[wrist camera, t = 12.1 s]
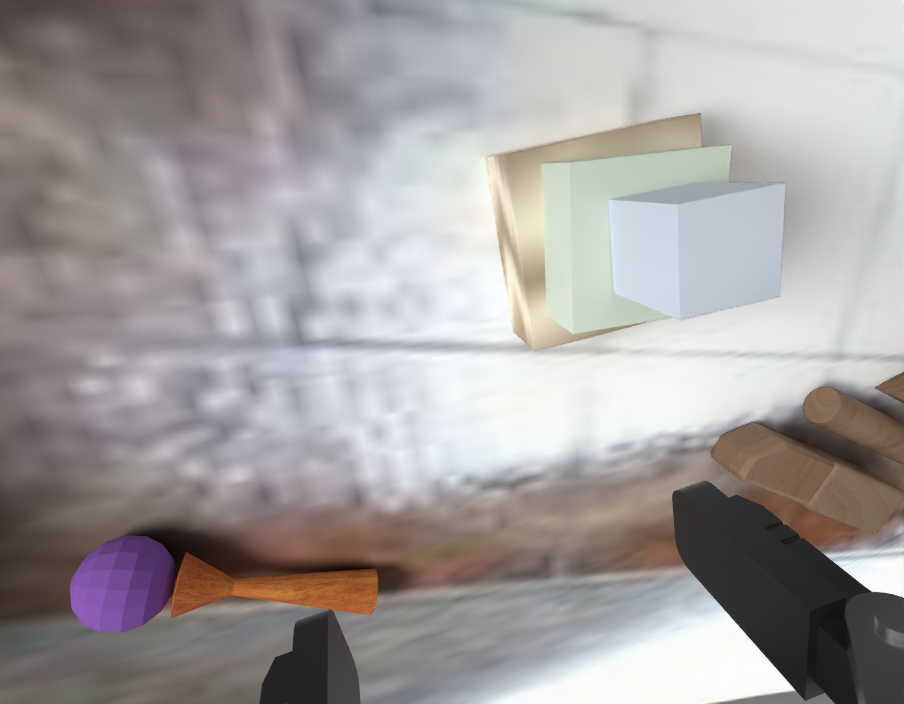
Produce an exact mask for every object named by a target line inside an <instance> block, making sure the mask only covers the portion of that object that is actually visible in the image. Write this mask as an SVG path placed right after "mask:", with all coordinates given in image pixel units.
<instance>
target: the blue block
mask: <svg viewBox="0 0 904 704" xmlns="http://www.w3.org/2000/svg"><path fill="white" fill-rule="evenodd" d="M784 203H785V183H737V182H695V183H690V184H685V185H680V186H675V187H670V188H665V189H660V190H655V191H649V192H644V193H639V194H634V195H629V196H624V197H619V198H614V199H609V200H608V206H609V222H610V237H611V253H612V268H613V284H614V293H615V294H617V295H620V296H622V297H625V298H627V299H630V300H632V301H634V302H637V303H639V304H642V305H644V306H647V307H649V308H651V309H654V310H656V311H659V312H661V313H664V314H666V315H668V316H671V317H673V318H676V319H678V320H683V319H688V318H692V317H696V316H700V315H705V314H709V313H713V312H717V311H722V310H726V309H730V308H734V307H739V306H743V305H747V304H751V303H756V302H760V301H764V300H768V299H773V298H777V297H780V289H781V267H782V246H783V225H784Z"/></svg>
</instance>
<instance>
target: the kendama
mask: <svg viewBox="0 0 904 704" xmlns="http://www.w3.org/2000/svg"><path fill="white" fill-rule="evenodd" d="M171 595H172V606H171V618H174V617H176V616H179V615H181V614H184V613H186V612H189V611H191V610H194V609H196V608H199V607H202V606H204V605H207V604H209V603H212V602H214V601H217V600H219V599H222V598H224V597H227V596H229V595H235V596H242V597H249V598H256V599H263V600H270V601H276V602H283V603H290V604H297V605H304V606H311V607H318V608H325V609H331V610H338V611H345V612H352V613H359V614H366V615H372V613H373V612H374V609H375V606H376V601H377V596H378V575H377V571H376V570H375V569H362V570H348V571H333V572H319V573H304V574H290V575H275V576H261V577H247V578H233V577H231V576H229V575H227V574H225V573H223V572H222V571H220V570H218V569H216V568H214V567H212V566H211V565H209V564H207V563H205V562H203V561H202V560H200V559H198V558H196V557H194V556H192V555H191V554H189V553H187V552H186V554H185V556H184V558H183V561H182V563H181V566H180V568H179V571H178V573H177V575H176V569H175V564H174V559H173V557H172V556H171V554H170V553H169V552H168V551H167V549H166V548H165V547H164V545H163V544H161V543H159V542H157V541H155V540H153V539H151V538H149V537H147V536H132V535H127V536H123V537H120V538H116V539H113V540H110V541H107V542H105V543H104V544H102V545H101V546H100V547H98V548H97V549H95V550H94V551H92V552H91V553H89V554H88V555H87V557H86V558H85V559H84V561H83V562H82V563H81V565H80V566H79V568H78V569H77V570H76V572H75V574H74V576H73V578H72V581H71V585H70V596H71V607H72V610H73V612H74V613H75V615H76V616H77V617H78V619H79V620H80V622H81V623H82V624H83V625H85V626H87V627H89V628H92V629H94V630H96V631H98V632H120V633H121V632H125V631H128V630H131V629H134V628H136V627H139V626H142V625H144V624H146V623H147V622H148V621H149V620H151V619H152V618H153V617H154V616H156V615H157V614H158V613H159V612H161V610H162V609H163V607H164V606H165V604H166V603H167V601H168V600H169V598H170V597H171Z"/></svg>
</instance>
